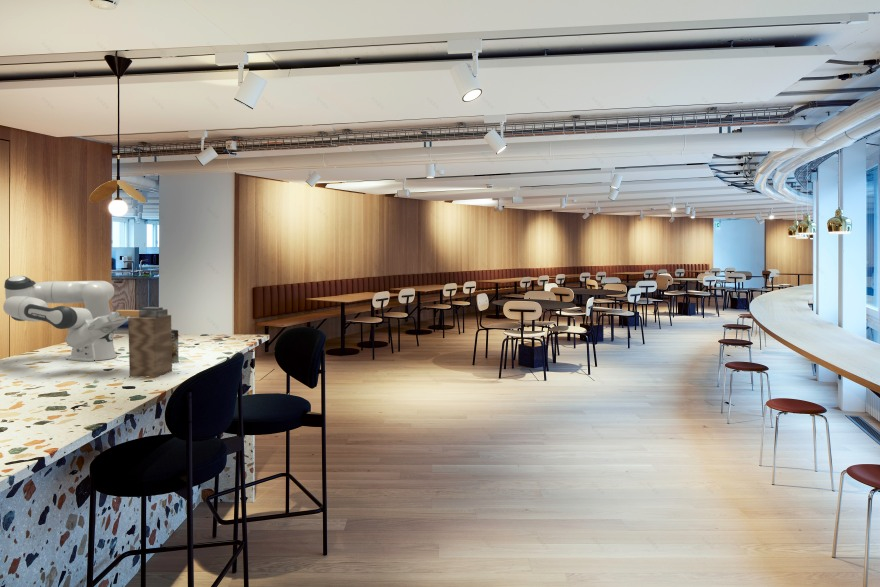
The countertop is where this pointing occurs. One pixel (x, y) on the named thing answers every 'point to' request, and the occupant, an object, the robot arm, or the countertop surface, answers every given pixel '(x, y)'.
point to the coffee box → (174, 346)
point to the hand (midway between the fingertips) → (125, 312)
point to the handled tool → (137, 311)
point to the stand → (150, 343)
